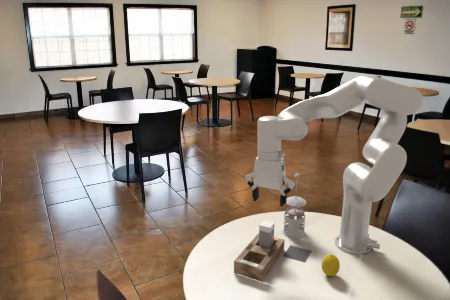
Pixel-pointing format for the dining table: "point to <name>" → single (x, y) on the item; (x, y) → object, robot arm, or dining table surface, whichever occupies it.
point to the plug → (266, 234)
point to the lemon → (330, 265)
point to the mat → (297, 253)
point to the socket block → (258, 259)
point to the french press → (294, 225)
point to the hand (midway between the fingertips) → (269, 202)
